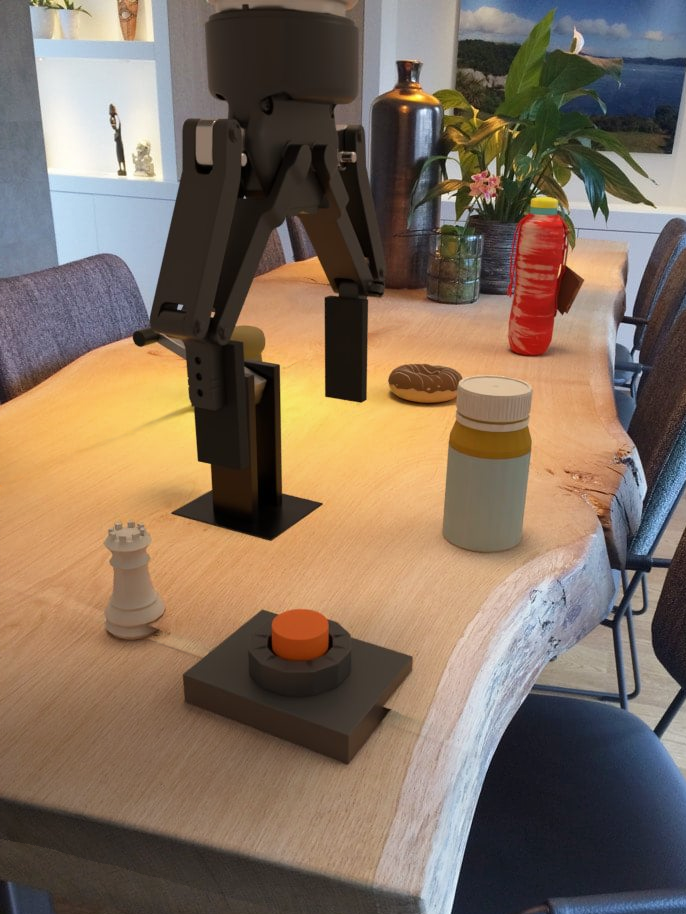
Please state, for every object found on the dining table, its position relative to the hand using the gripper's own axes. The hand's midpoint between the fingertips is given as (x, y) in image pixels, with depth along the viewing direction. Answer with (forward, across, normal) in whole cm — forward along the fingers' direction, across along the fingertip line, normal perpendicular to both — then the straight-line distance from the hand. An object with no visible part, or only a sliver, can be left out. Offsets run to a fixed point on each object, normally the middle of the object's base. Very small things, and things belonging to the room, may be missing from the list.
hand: (291, 428), depth 49 cm
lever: (+4, +19, +21) cm, 29 cm away
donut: (+18, +65, +18) cm, 70 cm away
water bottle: (+18, +99, +12) cm, 101 cm away
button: (+14, -1, -1) cm, 14 cm away
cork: (+17, +46, +36) cm, 61 cm away
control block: (+18, -1, -1) cm, 18 cm away
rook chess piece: (+18, 0, +14) cm, 22 cm away
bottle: (+18, +25, -4) cm, 31 cm away
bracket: (+18, +19, +17) cm, 31 cm away
